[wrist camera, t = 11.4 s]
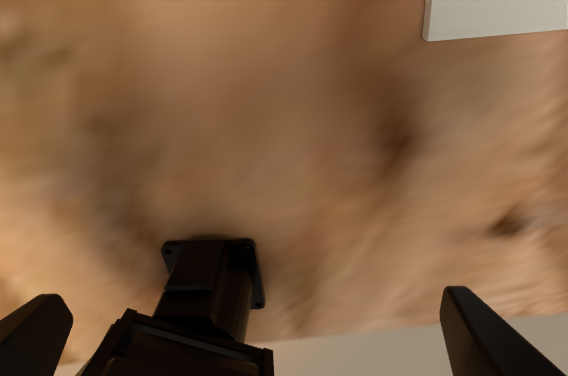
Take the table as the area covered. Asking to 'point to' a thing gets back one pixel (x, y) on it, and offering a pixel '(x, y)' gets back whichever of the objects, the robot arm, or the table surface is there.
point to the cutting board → (491, 18)
